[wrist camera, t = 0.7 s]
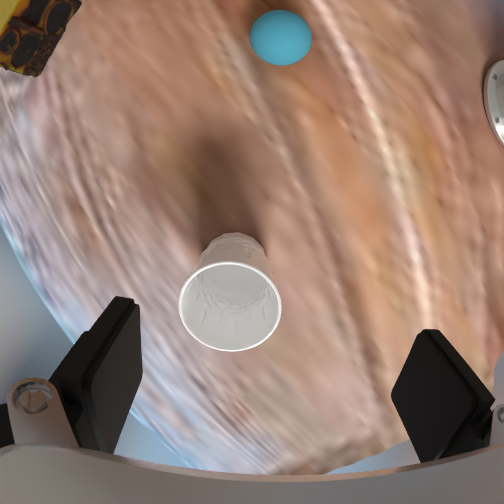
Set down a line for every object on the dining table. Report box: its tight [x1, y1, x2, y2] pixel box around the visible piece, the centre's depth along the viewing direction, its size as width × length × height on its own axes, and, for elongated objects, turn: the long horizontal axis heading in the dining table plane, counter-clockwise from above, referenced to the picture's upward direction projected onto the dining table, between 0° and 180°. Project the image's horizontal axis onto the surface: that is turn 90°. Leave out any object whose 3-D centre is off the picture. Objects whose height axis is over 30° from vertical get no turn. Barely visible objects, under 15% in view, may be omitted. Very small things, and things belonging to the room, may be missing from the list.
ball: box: [250, 10, 312, 65], centre depth 24 cm, size 6×6×6 cm
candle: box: [0, 0, 81, 77], centre depth 20 cm, size 10×10×10 cm
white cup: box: [178, 232, 281, 351], centre depth 29 cm, size 8×8×10 cm
